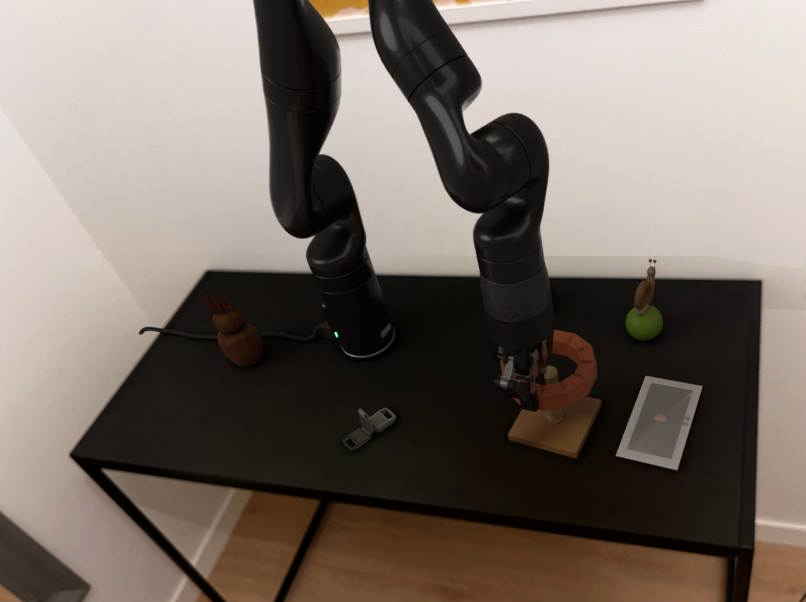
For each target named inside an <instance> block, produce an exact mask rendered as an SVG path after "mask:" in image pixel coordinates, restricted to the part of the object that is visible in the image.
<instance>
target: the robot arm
mask: <svg viewBox="0 0 806 602" xmlns="http://www.w3.org/2000/svg"><path fill="white" fill-rule="evenodd" d="M252 5H253V14H254V20H255V29H256V36H257V48H258V49H257V51H258V63H259V69H260V79H261V86H262V93H263V100H264V107H265V114H266V122H267V123H266V124H267V135H268V194H269V200H270V204H271V208H272V211H273V214H274V216H275V218H276V220H277V223H279V225H280V227H281V228H282V229H283V230H284V231H285V232H286V233H287V234H288V235H290V236H291V237H294V238H296V239H298V240H299V239H301V240H304V239H305V240H307V239H309V238H312V239H311V240H310V242H309V243H308V245H307V248H306V250H305V258H306V262H307V265H308V267H309V269H310V272H311V275H312V277H313V280H314V281H315V284H316V286H317V288H318V291H319V295H320V296H321V299H322V301H323V302H322V303H321V311H322V312H323V316H324V317H325V321H324V322H323V323H320V324H318V325H316V326H315V327H314V328H313V331H312V334H311V335H309V336H299V335H295V334H291V333H286V332H283V331H282V332H281V331H263V332H259V334H260V336H261V338H266V337H267V338H268V337H269V338H270V337H278V338H279V337H280V338H284V339H285V338H286V339H289V340H292V341H299V342H312V341H313V340H314V341H315V340H316V339H317V338H318V334H319V331H320V330H321V331H322V334H323V336H324V339H327V340H332V341H335V344H336V346H337V349H339V350H342V353H343V354H344V355H345V356H346V357H347V358H348V359H351V360H354V361H368V360H373V359H375V358H377V357H380V356H381V355H384V354H386V353H387V352H388V351H389V350H390V349H391V348H392V347H393V345H394V344H395V342H396V338H397V334H396V330H395V328H394V326H393V323H392V321H391V317H390V314H389V310H388V308H387V305H386V302H385V297H384V295H383V292H382V289H381V286H380V283H379V280H378V278H377V275H376V271H375V268H374V265H373V262H372V260H371V256H370V254H369V250H368V247H367V232H366V228H365V225H364V220H363V217H362V213H361V209H360V205H359V202H358V198H357V195H356V191H355V187H354V185H353V183H352V181H351V178H350V176H349V175H348V173H347V171H346V170H345V168H344V167H343V165H341V164H340V162H339V161H338V160H337V159H335V158H334V157H332V156H331V155H328V154H324V153H321V151H322V149H323V147H324V145H325V143H326V140H327V138H328V136H329V134H330V132H331V130H332V127H333V125H334V123H335V121H336V117H337V115H338V112H339V109H340V107H341V106H340V105H341V101H342V100H341V99H342V91H343V90H342V88H343V87H342V85H343V84H342V79H343V78H342V52H341V48H340V44H339V41H338V39H337V37H336V35H335V33H334V32H333V30H332V28H331V26H330V25H329V24H328V23H327V21H326V20H325V19H324V17H323V16H322V14H320V12H319V11H318V10H317V9H316V8H315V6H314V5H313V4H312V3H311V2H310V0H252ZM438 9H439V8H438V7H437V6H436V4H435V2H434V1H433V0H367V11H368V19H369V21H368V22H369V28H370V33H371V37H372V41H373V42H372V43H373V45H374V48H375V50H376V53H377V55H378V57H379V60H380V62H381V64H382V65H383V67H384V69H385V70H386V72H387V74H388V75H389V76H390V78H391V80H392V81H393V82H394V84H395V85H396V87H397V88H398V90H399V92H400V93H401V94H402V96H403V97H404V98H405V100H406V101H407V103H408V104H409V106H410V108H411V109H412V111H414V113H415V115H416V117H417V119H418V121H419V124H420V127H421V130H422V132H423V134H424V137H425V140H426V143H427V144H428V147H429V150H430V152H431V155H432V158H433V161H434V164H435V167H436V170H437V173H438V176H439V179H440V181H441V185H442V187H443V189H444V190H445V192H446V194H447V195H448V197H449V198H450V199H451V200H452V202H454V203H455V204H456V205H457V206H458V207H459V208H461V209H463V210H465V211H466V212H469V213H471V214H477V215H479V217H478V218H477V219H476V221H475V223H474V225H473V227H472V241H473V246H474V247H473V248H474V251H475V257H476V262H477V266H478V272H479V287H480V292H481V296H482V302H483V306H484V311H485V316H486V321H487V326H488V330H489V334H490V336H491V338H492V339H493V340H494V341H495V342H496V343H497V344H499V345H500V346H501V347H502V349H503V357H502V358H501V359H502V361H503V364H504V365H505V370H504V373H503V375H502V374H501V375H500V376H495V378H494V380H493V386H494V387H495V388H496V389H497V390H498V391H500V392H501V393H502V394H504V395H505V396H506V397H507V398H511V399H513V398H516V399H520V404H521V405H520V404H519V405H520V409H521V410H522V409H524V410H528V411H532V412H537V410H538V408H539V403H538V397H537V389H536V384H540V385H546V382H545V375H544V374H545V373H546V371H547V366H548V365H547V362H550V361H551V360H552V357H553V356H552V355H553V354H552V345H553V335H554V330H555V323H556V314H554V306H553V305H552V297H551V290H550V288H551V283H550V275H549V271H548V267H547V264H546V260H545V255H544V246H543V238H542V232H541V226H542V220H543V217H544V212H545V204H546V199H547V192H548V184H549V178H550V166H551V165H550V153H549V152H550V151H549V147H548V144H547V140H546V138H545V136H544V133H543V131H542V130H541V128H540V127H539V125H538V124H537V123H536V122H535V121H534V120H533V119H532V118H530V117H529V116H528V115H525V114H523V113H520V112H508V113H505V114H502V115H500V116H497V117H496V118H494V119H492V120H491V121H489V122H487V123H486V124H484V125H483V126H481V127H479V128H477V129H476V130H474V131H473V132H471V133H470V131H468V129H467V126H466V123H465V118H464V112H465V111H466V110H467V109H468V108H470V106H471V105H472V104H473V103H474V102H475V101H476V100H477V98H478V97H479V96H480V94H481V91H482V89H483V79H482V76H481V73H480V72H479V70H478V68H477V67H476V65H475V63H474V61H472V59H471V57H470V56H469V54H468V53H467V51H466V50H465V48H464V47H463V45H462V43H461V42H460V40H459V39H458V37H456V35H455V33H454V32H453V30H452V29H451V27H450V26H449V25H448V23H447V22H446V20H445V18H444V17H443V15H442V14H441V12H440V11H439V10H438ZM146 332H155V333H161V334H171V335H175V336H176V335H177V336H180V337H184V338H189V339H196V340H211V341H212V340H213V341H218V338H217V336H218V334H214V335H213V334H199V333H190V332H185V331H182V330H176V329H171V328H161V327H157V326H156V327H155V326H144V327H142V328H141V329H140V330H139V331H138V335H140V336H141V335H143V334H144V333H146ZM521 380H525V381H527V383H526V382H522V381H521Z"/></svg>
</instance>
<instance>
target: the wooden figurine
mask: <svg viewBox="0 0 806 602" xmlns="http://www.w3.org/2000/svg"><path fill="white" fill-rule="evenodd" d="M201 296H202V298H203V299H204V301H205V303H206V305H207V307H208V309H209V311H210V313H211V315H212V317H211V318H212V323H213V325H214V327H215V328H216V330H218V332H217V335H218V336H217V338H218V340H217V342H218V345H219V347H220V350H221V351H222V353H223V355H224V356H225V357H226V358H227V359H229V360H230V361H231V362H232V363H234V364H235V365H237V366H239V367H251V366H254V365H256V364H258V363H259V362H260V360H261V358H262V357H263V354H264V344H263V339H262V337H261V336H260V334H259V333H260V332H259V330H258V329H257V328H256V327H255V326H254V325H253V324H251V323H249V322H246V321H245V317H244V314H243V312H242V311H241V310H240V309H239V308H238V307H237V306H235V305H233V304H232V303H231V301H227V302H226V301H225V299H224V298H221V299H220V300H219V299H218V298H217V296H216V295H215V294H212V299H213V301H212V300H211V299H210V298H209V297H208V296H207V295H206V294H205V293H202V295H201Z"/></svg>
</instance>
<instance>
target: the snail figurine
mask: <svg viewBox="0 0 806 602" xmlns="http://www.w3.org/2000/svg"><path fill="white" fill-rule="evenodd" d="M657 262H658V260H657V259H653V258H649V259H648V263H649V266H648V268H647V269H646V274H647V275H646V276H647V277H646V279H645V280H642V281H641V282H639V284H638V286H637V288H636V290H635V293H634V297H633V308H631V310H629V312H628V313H627V315H626V318H625V328H626V330H627V332H628V334H629V335H630V336H631V337H633V338H634V339H635V340H637V341H638V340H639V341H650V340H653V339H654V338H656V337H657V336H659V334H660V333H661V331H662V330H663V325H664V319H663V315H662V313H661V312H660V311H659V309H658V308H656V307H655V306H653V305H651V304H652V300H653V298H654V293H655V286H656V273H657V269H656V263H657ZM651 263H653V265H654V266H652V264H651Z"/></svg>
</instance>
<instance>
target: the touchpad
mask: <svg viewBox="0 0 806 602" xmlns="http://www.w3.org/2000/svg"><path fill="white" fill-rule="evenodd" d="M703 387H704V386H703V385H698V384H693V383H688V382H681V381H677V380H671V379H664V378H659V377H654V376H648V375H645V377H644V380H643V382H642V385H641V387H640V390H639V393H638V395H637V398H636V401H635V403H634V405H633V409H632V411H631V414H630V416H629V419H628V421H627V424H626V428H625V430H624V433H623V435H622V438H621V441H620V443H619V446H618V448H617V450H616V454H615V457H618V458H623V459H628V460H632V461H636V462H641V463H644V464H649V465H653V466H656V467H661V468H664V469H665V468H666V469H670V470H674V471H678V470H679V466H680V462H681V460H682V457H683V452H684V449H685V446H686V443H687V439H688V436H689V433H690V430H691V427H692V423H693V419H694V417H695V413H696V411H697V410H696V409H697V406H698V403H699V400H700V397H701V393H702V390H703Z"/></svg>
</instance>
